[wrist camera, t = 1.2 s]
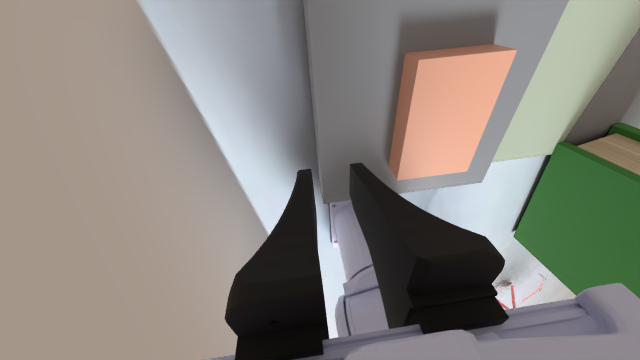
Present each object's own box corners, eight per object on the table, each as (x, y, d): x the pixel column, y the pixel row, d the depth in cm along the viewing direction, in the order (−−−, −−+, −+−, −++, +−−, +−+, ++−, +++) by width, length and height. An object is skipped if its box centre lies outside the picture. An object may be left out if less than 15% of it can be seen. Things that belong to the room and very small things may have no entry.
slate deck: (458, 160, 26) (481, 182, 23) (318, 178, 26) (323, 203, 23) (528, -28, 16) (585, -33, 13) (301, -9, 16) (306, -9, 12)
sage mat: (551, 151, 27) (555, 153, 27) (461, 163, 27) (463, 165, 26) (683, -51, 17) (692, -52, 16) (538, -39, 16) (544, -39, 16)
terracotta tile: (453, 158, 21) (467, 171, 19) (388, 166, 21) (397, 180, 19) (493, 43, 15) (517, 49, 14) (404, 52, 15) (418, 59, 13)
